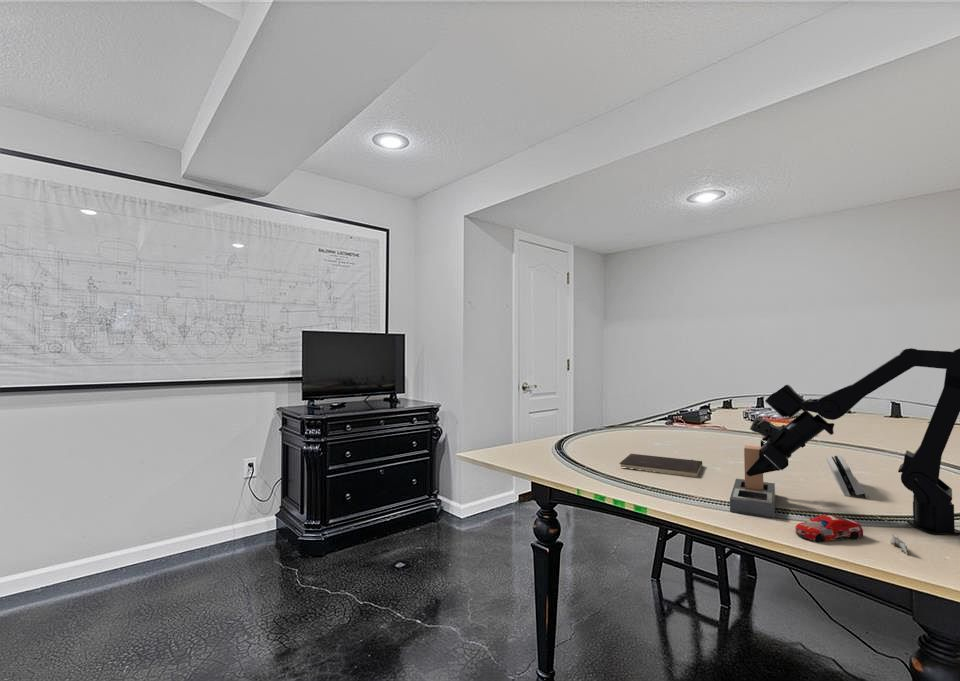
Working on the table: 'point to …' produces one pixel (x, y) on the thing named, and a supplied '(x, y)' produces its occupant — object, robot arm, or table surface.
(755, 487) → the peg
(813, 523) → the race car
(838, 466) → the white slotted holder
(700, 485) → the table surface
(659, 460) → the hardcover book
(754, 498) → the block with square holes
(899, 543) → the small metal piece
